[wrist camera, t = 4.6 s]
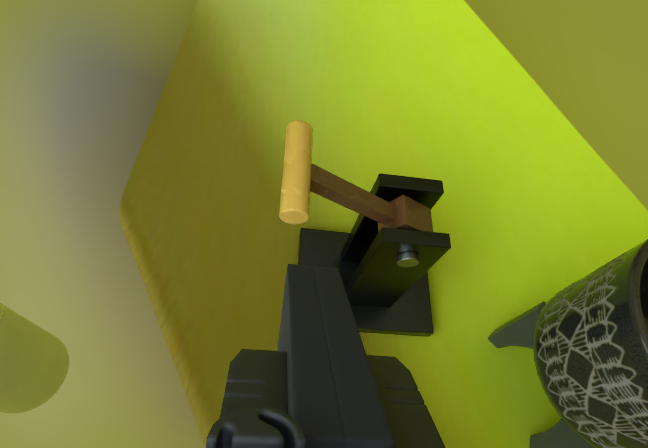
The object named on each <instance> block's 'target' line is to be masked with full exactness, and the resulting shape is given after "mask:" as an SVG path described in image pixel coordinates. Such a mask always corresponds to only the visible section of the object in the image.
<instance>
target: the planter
mask: <svg viewBox="0 0 648 448" xmlns="http://www.w3.org/2000/svg"><path fill="white" fill-rule="evenodd" d="M488 339H489V340H490V341H491V342H492V343H493V344H494V345H495V346H496V347H497V348H500V347H506V346H523V347H528V348H532V349H533V354H534V362H535V366H536V370H537V374H538V377H539V379H540V382H541V384H542V387H543V389H544V391H545V393H546V395H547V397H548V399H549V401H550V403H551V404H552V406H553V407H554V408H555V410H556V411H557V413H558V414H559V416H560V417H561V418H562V419H561V420H560V421H559V422H558V423H557V424H556V425H555V426H553V427H552V428H550V429H549V430H547V431H545V432H543V433H539V434H536V435H532V436H531V437H530V448H648V239H647V240H645V241H644V242H642V243H640V244H639V245H637V246H635V247H634V248H632V249H630V250H628V251H627V252H625V253H623V254H622V255H620V256H618V257H617V258H615V259H613V260H612V261H610V262H608V263H607V264H605V265H603V266H602V267H600V268H598V269H596V270H595V271H593V272H591V273H590V274H588V275H586V276H585V277H583V278H581V279H580V280H578V281H576V282H575V283H573V284H571V285H570V286H568V287H566V288H564V289H563V290H561V291H560V292H558V293H556V294H555V295H554V296H553V297H552V298H551V299H550V300H549V301H548V302H547V303H545V302H542V303H540V304H538V305H537V306H535V307H533V308H532V309H530V310H528V311H526V312H525V313H523V314H521V315H520V316H518V317H516V318H515V319H513V320H511V321H509V322H508V323H506V324H504V325H503V326H501V327H499V328H498V329H496V330H495V331H494V332H493V333H492V334H491V335H490V337H489V338H488Z"/></svg>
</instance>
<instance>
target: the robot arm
mask: <svg viewBox="0 0 648 448" xmlns="http://www.w3.org/2000/svg"><path fill="white" fill-rule="evenodd" d="M206 448H445V446H444V443H443V441H442V439H441V437H440V435H439V433H438V431H437V428H436V426H435V424H434V422H433V420H432V418H431V415H430V413H429V411H428V409H427V407H426V405H424V400H423V398H422V396H421V394H420V392H419V391H418V387H417V385H416V383H415V381H414V379H413V377H412V374H411V372H410V371H409V370H408V369H407V368H406V367H405V366H404V365H403V364H402V363H401V362H400V361H399V360H398V359H397V358H396V357H388V356H372V355H366V352H365V349H364V346H363V343H362V340H361V337H360V334H359V331H358V328H357V325H356V322H355V319H354V315H353V312H352V309H351V306H350V303H349V300H348V297H347V294H346V291H345V288H344V285H343V282H342V279H341V276H340V273H339V269H338V268H327V267H316V266H305V265H294V264H288V267H287V275H286V284H285V292H284V300H283V308H282V317H281V325H280V333H279V342H278V351H266V350H250V349H242V350H241V351H240V352H239V353H238V355H237V356H236V357H235V358H234V359H233V360H232V361H231V362H230V367H229V372H228V378H227V383H226V388H225V394H224V399H223V404H222V410H221V415H220V419H219V420H218V421H216V422H215V423H214V424H213V426H212V428H211V430H210V433H209V435H208V437H207V444H206Z"/></svg>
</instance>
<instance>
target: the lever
mask: <svg viewBox="0 0 648 448" xmlns="http://www.w3.org/2000/svg"><path fill="white" fill-rule="evenodd" d="M312 140H313V128H312V126H311V125H310V124H309V123H307V122H305V121H293V122H291V123H289V124H288V126H287V129H286V140H285V152H284V164H283V176H282V188H281V200H280V211H279V217H280V219H281V220H282V221H284V222H286V223H289V224H302V223H305V222H306V221H307V220H308V219H309V205H310V191H311V192H314V193H316V194H318V195H320V196H322V197H325V198H327V199H329V200H331V201H333V202H335V203H338V204H340V205H342V206H344V207H346V208H349V209H351V210H353V211H355V212H357V213H360V214H362V215H364V216H366V217H368V218H371V219H373V220H375V221H377V222H378V233H379V231H380V230H381V228H382V227H386V228H396V229H406V230H416V231H426V232H433V228H432V219H431V210H430V208H428V207H426V206H424V205H422V204H420V203H418V202H417V201H415V200H413V199H411V198H409V197H407V196H405V195H402V196H400V197H398V198H396V199H394V200H392V201H390V202H387V201H385V200H383V199H381V198H379V197H377V196H375V195H373V194H371V193H369V192H367V191H365V190H363V189H362V188H360V187H358V186H356V185H354V184H352V183H350V182H348V181H346V180H344V179H342V178H340V177H338V176H336V175H334V174H332V173H330V172H328V171H326V170H324V169H322V168H320V167H318V166H316V165H314V164H312V163H311V162H312Z"/></svg>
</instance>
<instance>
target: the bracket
mask: <svg viewBox="0 0 648 448" xmlns="http://www.w3.org/2000/svg"><path fill="white" fill-rule="evenodd" d="M370 193H371V194H373V195H375V196H377V197H379V198H381V199H383V200H385V201H387V202H390V201H392V200H394V199H396V198H398V197H400V196H402V195H405V196H407V197H409V198H411V199H413V200H415V201H417V202H418V203H420V204H422V205H424V206H426V207H428V208H430V210H431V209H432V207H433V206H434V205H435V203H436V202H437V201H438V200H439V198H440V197H441V196H442V194H443V193H444V191H443V183H442V181H439V180H431V179H422V178H414V177H405V176H397V175H388V174H379V175H378V177H377V180H376V182H375V184H374V186H373V188H372V190H371V192H370ZM450 248H451V244H450V237H449V234H446V233H436V232H426V231H416V230H406V229H396V228H386V227H382V228H381V230H380V231H379V233H378V222H377V221H375V220H373V219H371V218H368V217H366V216H364V215H362V214H359V216H358V218H357V220H356V223H355V225H354V227H353V229H352V231H351V233H345V232H335V231H325V230H314V229H304V228H301V230H300V236H299V253H298V265H305V266H316V267H327V268H338V269H339V273H340V276H341V279H342V282H343V285H344V288H345V291H346V294H347V297H348V300H349V303H350V306H351V309H352V312H353V315H354V319H355V322H356V325H357V328H358V331H359V332H370V333H385V334H400V335H415V336H430V335H431V334H433V324H432V314H431V304H430V293H429V283H428V273H427V271H428V270H429V269H430V268H431V267H432V266H433V265H434V264H435V263H436V262H437V261H438V260H439V259H440V258H441V257H442V256H443V255H444V254H445V253H446V252H447V251H448V250H449V249H450Z"/></svg>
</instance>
